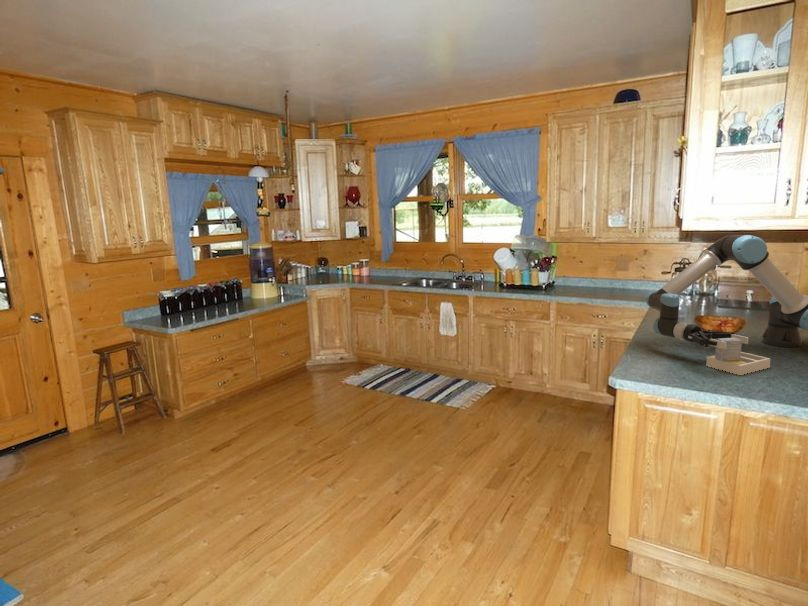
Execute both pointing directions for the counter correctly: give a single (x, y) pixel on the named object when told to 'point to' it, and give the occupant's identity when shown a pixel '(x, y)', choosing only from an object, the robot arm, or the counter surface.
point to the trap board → (740, 364)
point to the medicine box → (729, 350)
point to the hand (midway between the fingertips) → (737, 343)
